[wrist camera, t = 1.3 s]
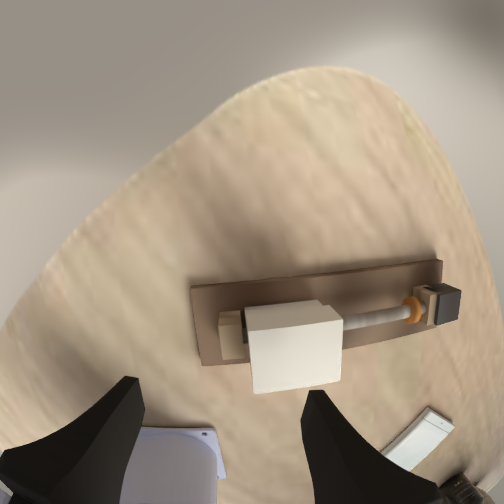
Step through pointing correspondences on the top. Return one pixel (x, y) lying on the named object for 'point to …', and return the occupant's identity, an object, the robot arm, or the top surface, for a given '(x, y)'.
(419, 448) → the hard drive
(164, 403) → the top surface
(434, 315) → the cord rail
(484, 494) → the cream barrel-shaped cylinder
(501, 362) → the top surface
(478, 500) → the supplement bottle
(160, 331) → the top surface
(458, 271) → the top surface
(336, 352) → the white rounded cube
